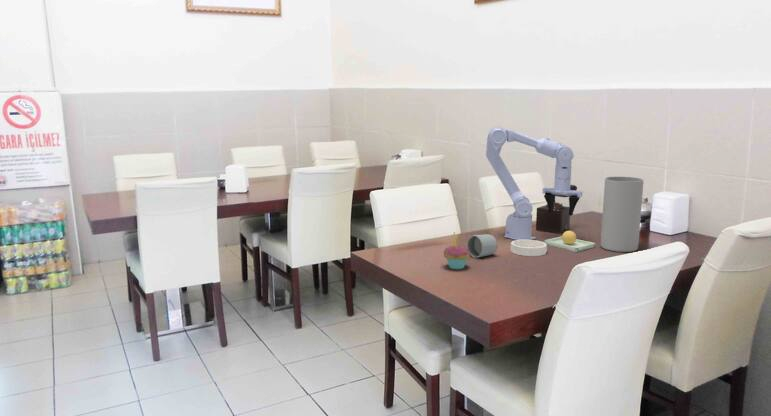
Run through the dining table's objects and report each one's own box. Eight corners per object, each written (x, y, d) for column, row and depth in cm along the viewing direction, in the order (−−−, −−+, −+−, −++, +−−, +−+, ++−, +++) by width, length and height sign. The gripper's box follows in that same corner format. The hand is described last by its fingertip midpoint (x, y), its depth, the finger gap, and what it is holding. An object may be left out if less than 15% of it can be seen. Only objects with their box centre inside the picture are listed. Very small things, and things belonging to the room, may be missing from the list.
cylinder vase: (594, 248, 207) (599, 179, 202) (608, 242, 216) (613, 175, 211) (630, 254, 198) (635, 182, 194) (643, 247, 207) (648, 178, 202)
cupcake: (462, 272, 179) (463, 235, 177) (438, 268, 184) (438, 231, 182) (474, 265, 187) (474, 229, 184) (450, 261, 191) (450, 226, 189)
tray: (544, 244, 213) (544, 240, 213) (562, 239, 219) (562, 235, 219) (576, 252, 202) (577, 248, 202) (595, 247, 208) (595, 243, 208)
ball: (558, 243, 211) (559, 230, 210) (568, 242, 214) (568, 228, 213) (569, 246, 207) (570, 232, 206) (579, 244, 210) (579, 231, 209)
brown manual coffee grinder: (560, 234, 228) (563, 189, 225) (534, 230, 235) (536, 186, 232) (576, 227, 240) (579, 184, 236) (551, 223, 247) (554, 182, 243)
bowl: (503, 250, 204) (504, 243, 204) (526, 245, 211) (526, 238, 211) (530, 258, 195) (531, 250, 194) (553, 252, 202) (553, 244, 201)
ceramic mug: (499, 256, 198) (499, 234, 196) (481, 260, 193) (482, 237, 192) (477, 250, 206) (477, 229, 205) (460, 253, 202) (460, 232, 200)
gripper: (539, 177, 217) (538, 213, 219) (578, 181, 208) (576, 218, 211) (547, 175, 222) (545, 210, 225) (585, 178, 213) (582, 214, 216)
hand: (560, 214), depth 218 cm, fingers open, 7 cm apart
